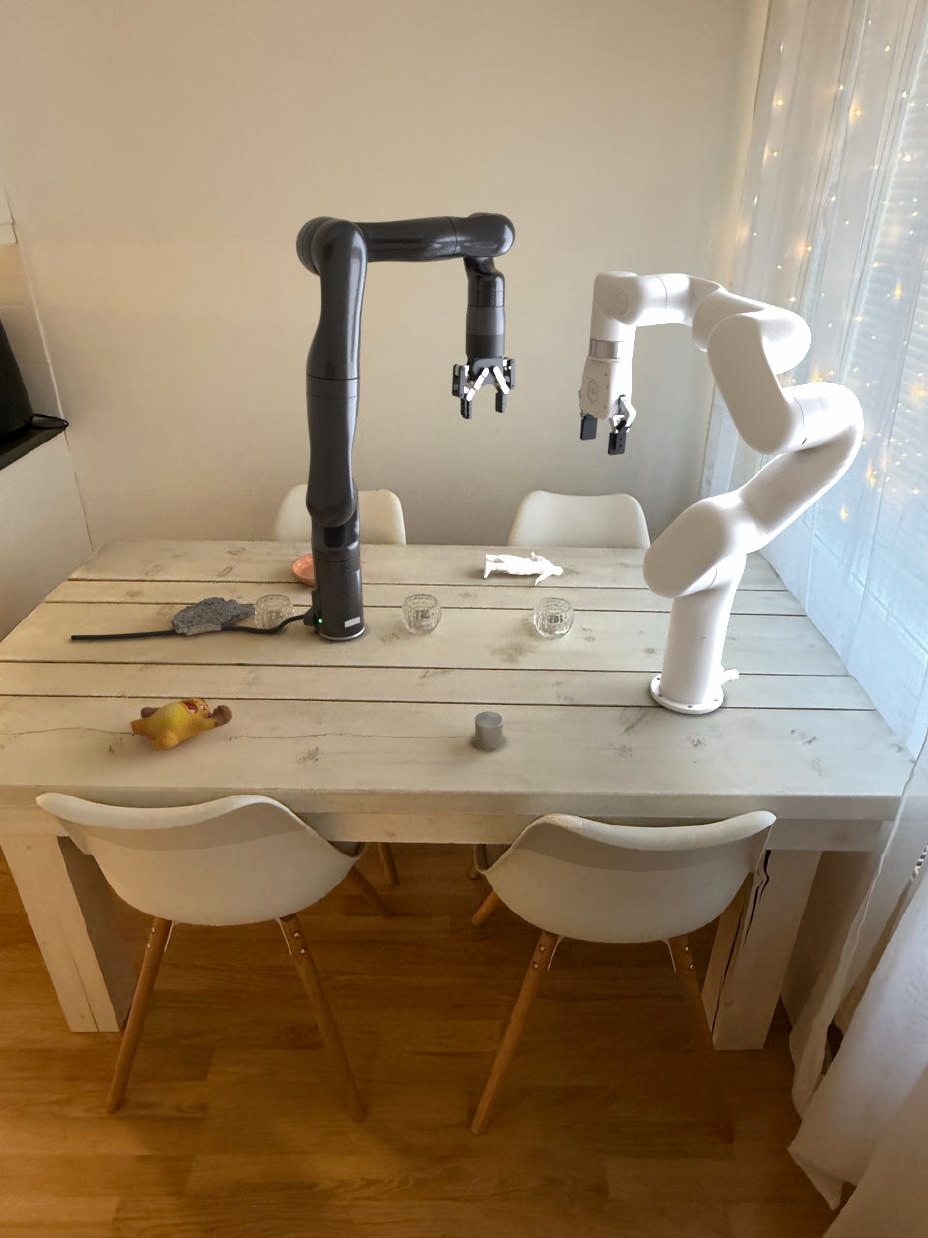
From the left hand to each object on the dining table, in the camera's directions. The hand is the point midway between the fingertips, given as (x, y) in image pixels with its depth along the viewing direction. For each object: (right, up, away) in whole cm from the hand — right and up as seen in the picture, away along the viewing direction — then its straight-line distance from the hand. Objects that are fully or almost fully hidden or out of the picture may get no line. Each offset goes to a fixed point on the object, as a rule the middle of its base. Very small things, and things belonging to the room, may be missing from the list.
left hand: (483, 415), depth 162 cm
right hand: (+21, -9, -14) cm, 27 cm away
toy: (-50, -60, -29) cm, 83 cm away
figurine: (+10, -30, +27) cm, 42 cm away
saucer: (-35, -31, +25) cm, 53 cm away
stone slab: (-56, -41, +5) cm, 70 cm away
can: (0, -61, -29) cm, 67 cm away
